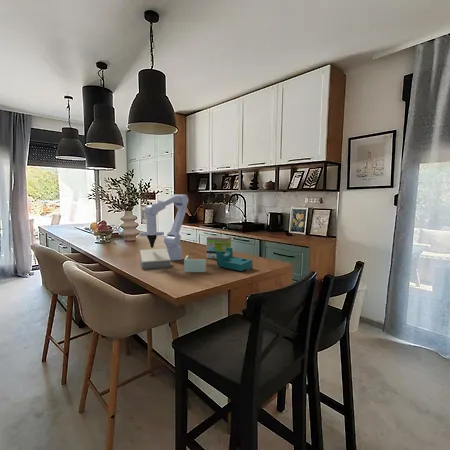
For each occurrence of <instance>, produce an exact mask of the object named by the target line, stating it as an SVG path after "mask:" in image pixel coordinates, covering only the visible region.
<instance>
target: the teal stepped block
mask: <svg viewBox="0 0 450 450" xmlns="http://www.w3.org/2000/svg"><path fill="white" fill-rule="evenodd" d="M216 257H217V259H216V266H217V267H221V268H226V269H229V270H235V271H239V272H243V271H249V270H248V269H250V270H252V269H253V265H254V264H253V259H250V258H243V257H238V256H234V254H233V247H231V248H230V247H227V248H226V252H225V254H224V255H223V252H222V251H216ZM251 268H252V269H251Z"/></svg>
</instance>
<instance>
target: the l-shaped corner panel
mask: <svg viewBox="0 0 450 450" xmlns="http://www.w3.org/2000/svg"><path fill="white" fill-rule="evenodd" d="M183 265H184V266H183V269H184V270H183V272H184V273H206V271H207V258H206V259H201V258H200V259H198V258H197V259H196V258H193V259H190V258H189V255H186V256H185V258H184V259H183Z"/></svg>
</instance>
